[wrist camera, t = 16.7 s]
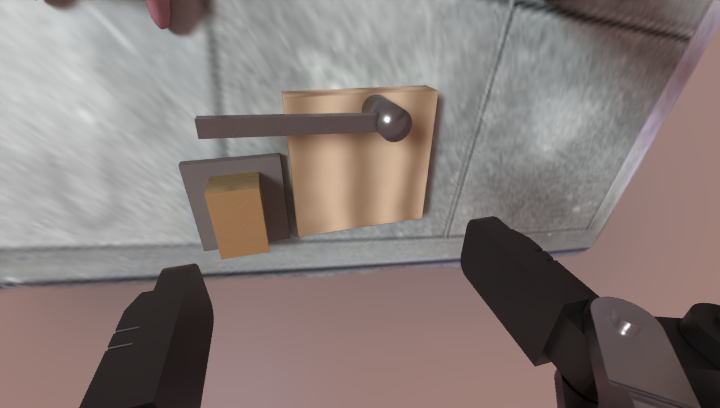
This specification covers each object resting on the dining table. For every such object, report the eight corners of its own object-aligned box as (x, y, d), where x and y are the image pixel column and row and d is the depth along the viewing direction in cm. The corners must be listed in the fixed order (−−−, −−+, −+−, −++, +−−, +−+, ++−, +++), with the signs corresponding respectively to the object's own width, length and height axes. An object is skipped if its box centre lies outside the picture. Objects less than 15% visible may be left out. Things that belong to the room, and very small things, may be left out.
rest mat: (279, 153, 35) (279, 156, 35) (289, 233, 41) (290, 238, 40) (180, 161, 33) (178, 165, 32) (205, 246, 39) (204, 251, 38)
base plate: (425, 85, 36) (438, 90, 34) (412, 206, 44) (421, 217, 42) (281, 91, 32) (284, 98, 30) (296, 222, 40) (298, 236, 38)
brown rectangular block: (258, 171, 35) (258, 188, 31) (268, 231, 39) (269, 251, 35) (209, 176, 34) (204, 193, 30) (224, 237, 38) (221, 259, 34)
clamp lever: (391, 94, 32) (414, 107, 27) (388, 123, 34) (409, 141, 29) (201, 95, 28) (190, 111, 23) (208, 129, 29) (199, 151, 24)
